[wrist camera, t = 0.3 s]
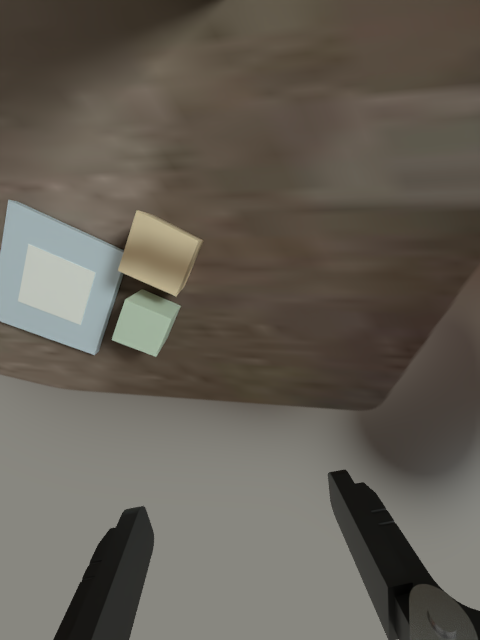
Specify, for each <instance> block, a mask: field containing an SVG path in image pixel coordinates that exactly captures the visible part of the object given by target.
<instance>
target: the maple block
mask: <svg viewBox="0 0 480 640" xmlns="http://www.w3.org/2000/svg"><path fill="white" fill-rule="evenodd" d="M203 241H204V240H202V239H200V238H198V237H196V236H194V235H192V234H190V233H188V232H186V231H184V230H182V229H180V228H178V227H176V226H174V225H172V224H170V223H168V222H166V221H164V220H162V219H160V218H158V217H156V216H154V215H151V214H148V213H145V212H141V211H138V210H137V211H136V214H135V217H134V221H133V224H132V227H131V230H130V233H129V236H128V240H127V243H126V246H125V249H124V252H123V256H122V259H121V262H120V265H119V268H118V271H119V272H122V273H124V274H126V275H128V276H131V277H133V278H135V279H138V280H140V281H142V282H144V283H147V284H149V285H151V286H154V287H156V288H158V289H160V290H163V291H165V292H167V293H169V294H172V295H174V296H177V295H178V294H179V292H180V291H181V290H182V289H183V288H184V287H185V284H186V282H187V279H188V277H189V275H190V272H191V270H192V267H193V265H194V262H195V260H196V258H197V255H198V253H199V250H200V248H201V246H202V243H203Z"/></svg>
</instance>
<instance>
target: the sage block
mask: <svg viewBox="0 0 480 640" xmlns="http://www.w3.org/2000/svg"><path fill="white" fill-rule="evenodd" d="M180 307H181V306H180V305H178V304H175V303H173V302H171V301H169V300H166V299H164V298H162V297H159V296H157V295H155V294H152V293H150V292H148V291H145V290H143V289H142V290H140V291H138V292H137V293H135V294H133V295H132V296H130V297H129V298H127V299H125V301H124V304H123V307H122V310H121V313H120V316H119V319H118V322H117V325H116V328H115V331H114V334H113V337H112V340H113V341H115V342H118V343H121V344H123V345H126V346H129V347H131V348H134V349H137V350H139V351H142V352H145V353H147V354H150V355H152V356H155V357H156V356H157V355H158V353H159V351H160V350H161V348H162V346H163V345H164V343H165V341H166V339H167V338H168V335H169V333H170V330H171V328H172V326H173V323H174V321H175V319H176V316H177V314H178V311H179V309H180Z"/></svg>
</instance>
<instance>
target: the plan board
mask: <svg viewBox="0 0 480 640" xmlns="http://www.w3.org/2000/svg"><path fill="white" fill-rule="evenodd" d="M123 252H124V250H122V249H120V248H118V247H116V246H113V245H111V244H109V243H107V242H105V241H102V240H100V239H98V238H96V237H94V236H92V235H89V234H87V233H85V232H83V231H81V230H79V229H76V228H74V227H72V226H70V225H68V224H65V223H63V222H61V221H59V220H57V219H55V218H52V217H50V216H48V215H46V214H44V213H42V212H39V211H37V210H35V209H33V208H31V207H28V206H26V205H24V204H22V203H20V202H18V201H13V200H8V206H7V213H6V219H5V226H4V233H3V240H2V246H1V253H0V322H3V323H6V324H9V325H11V326H14V327H17V328H20V329H23V330H25V331H28V332H31V333H34V334H37V335H39V336H42V337H45V338H48V339H51V340H53V341H56V342H59V343H62V344H65V345H67V346H70V347H73V348H76V349H79V350H81V351H84V352H87V353H90V354H93V355H95V354H96V353H97V352H99V348H100V345H101V342H102V339H103V336H104V333H105V330H106V327H107V324H108V321H109V318H110V314H111V311H112V308H113V305H114V302H115V299H116V296H117V293H118V290H119V287H120V284H121V280H122V277H123V274H124V273H122V272H119V271H118V268H119V265H120V262H121V259H122V256H123Z"/></svg>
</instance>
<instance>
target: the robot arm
mask: <svg viewBox="0 0 480 640" xmlns="http://www.w3.org/2000/svg"><path fill="white" fill-rule="evenodd" d="M328 481H329V491H330V501H331V505H332V509H333V512H334V515H335V517H336V520H337V522H338V524H339V526H340V529H341V531H342V533H343V536H344V538H345V540H346V543H347V545H348V547H349V550H350V552H351V554H352V556H353V559H354V561H355V564H356V566H357V568H358V570H359V573H360V575H361V577H362V580H363V582H364V584H365V587H366V589H367V591H368V594H369V596H370V598H371V600H372V603H373V605H374V607H375V610H376V612H377V614H378V617H379V619H380V621H381V624H382V626H383V628H384V631H385V633H386V635H387V637H388V640H396V639H399V640H480V611H478V610H475V609H471V608H469V607H467V606H465V605H462V604H461V603H459V602H457V601H456V600H455V599H453V598H452V597H450V596H449V595H448V594H447V593H446V592H444V591H443V590H442V589H441V588H440V587H439V586H438V584H437V583H436V582H435V581H434V580H433V578H432V577H431V576H430V574H429V573H428V571H427V570H426V568H425V567H424V565H423V564H422V562H421V561H420V560H419V558H418V556H417V555H416V553H415V552H414V550H413V549H412V547H411V546H410V544H409V543H408V541H407V539H406V538H405V536H404V535H403V533H402V532H401V530H400V529H399V527H398V526H397V524H395V522H394V520H393V518H392V517H391V515H390V514H389V512H388V511H387V510H386V508H385V506H384V505H383V503H382V502H381V500H380V499H379V497H378V496H377V494H376V493H375V492H374V491H373V490H372V489H370V488H369V487H368V486H367V485H366V484H365V483H357V484H355V483H354V482H353V480H352V478H351V477H350V475H349V473H348V472H347V471H346V470H340V471H334V472H329V473H328ZM153 546H154V533H153V529H152V526H151V523H150V520H149V517H148V514H147V512H146V509H145V507H143V506H141V507H136V508H131V509H126V510H124V512H123V513H122V515H121V517H120V519H119V522H118V524H117V526H116V528H111V529H110V530H109V531H108V532H107V533H106V535H105V536H104V537H103V539H102V540H101V541H100V543H99V544H98V546H97V548H96V550H95V552H94V554H93V556H92V559H91V561H90V565H89V566H88V567H87V569H86V571H85V573H84V576H83V579H82V582H80V584H79V586H78V589H77V590H76V593H75V595H74V597H73V599H72V601H71V603H70V605H69V608H68V610H67V612H66V614H65V616H64V618H63V620H62V623H61V625H60V627H59V629H58V631H57V633H56V635H55V637H54V640H129V638H130V634H131V630H132V627H133V623H134V619H135V615H136V611H137V608H138V604H139V600H140V597H141V593H142V589H143V585H144V582H145V578H146V574H147V570H148V566H149V563H150V559H151V555H152V551H153Z"/></svg>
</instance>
